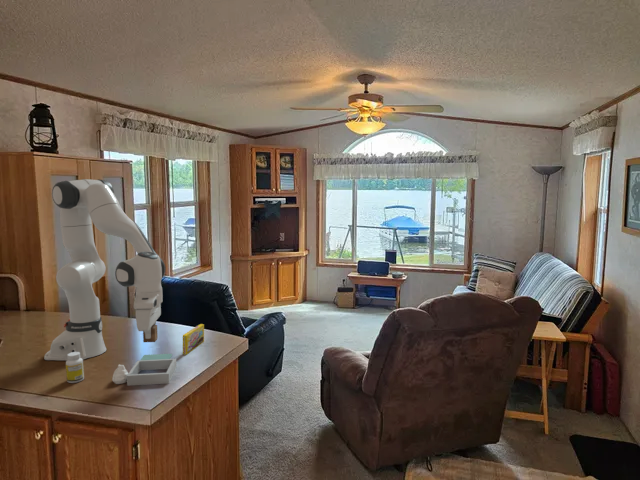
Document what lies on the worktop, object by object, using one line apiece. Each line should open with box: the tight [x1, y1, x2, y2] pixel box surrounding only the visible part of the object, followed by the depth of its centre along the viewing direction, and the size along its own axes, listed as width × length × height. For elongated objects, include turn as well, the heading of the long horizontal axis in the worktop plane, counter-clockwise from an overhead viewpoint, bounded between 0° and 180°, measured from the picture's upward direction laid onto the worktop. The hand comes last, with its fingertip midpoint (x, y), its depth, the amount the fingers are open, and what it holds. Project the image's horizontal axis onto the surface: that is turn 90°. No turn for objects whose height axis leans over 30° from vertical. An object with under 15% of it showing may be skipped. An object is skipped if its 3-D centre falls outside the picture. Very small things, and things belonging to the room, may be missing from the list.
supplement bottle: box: [65, 352, 85, 384], centre depth 161 cm, size 5×5×10 cm
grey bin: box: [126, 358, 177, 387], centre depth 165 cm, size 14×14×4 cm
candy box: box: [182, 323, 205, 356], centre depth 194 cm, size 16×2×8 cm, turn 168°
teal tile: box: [140, 353, 173, 360], centre depth 179 cm, size 11×11×1 cm
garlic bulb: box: [111, 364, 129, 385], centre depth 161 cm, size 6×6×5 cm
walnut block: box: [142, 324, 158, 343], centre depth 164 cm, size 4×4×5 cm
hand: (150, 335), depth 164 cm, fingers closed on walnut block, 4 cm apart
